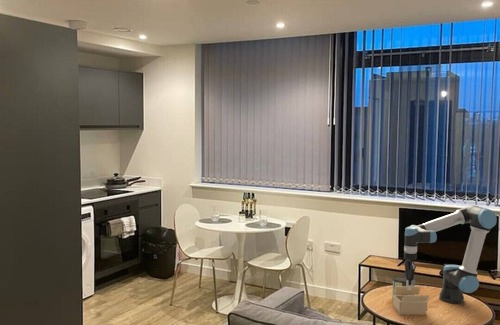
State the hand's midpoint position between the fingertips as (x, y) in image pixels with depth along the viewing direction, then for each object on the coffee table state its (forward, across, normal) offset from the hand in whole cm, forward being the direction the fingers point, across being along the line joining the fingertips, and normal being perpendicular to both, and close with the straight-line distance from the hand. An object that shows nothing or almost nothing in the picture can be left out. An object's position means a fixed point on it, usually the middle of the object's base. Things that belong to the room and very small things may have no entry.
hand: (408, 289), depth 309 cm
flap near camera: (+1, +11, 0) cm, 11 cm away
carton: (+13, +3, 0) cm, 13 cm away
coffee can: (+13, -17, +1) cm, 21 cm away
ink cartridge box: (+12, -25, +8) cm, 29 cm away
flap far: (+1, -2, 0) cm, 2 cm away
